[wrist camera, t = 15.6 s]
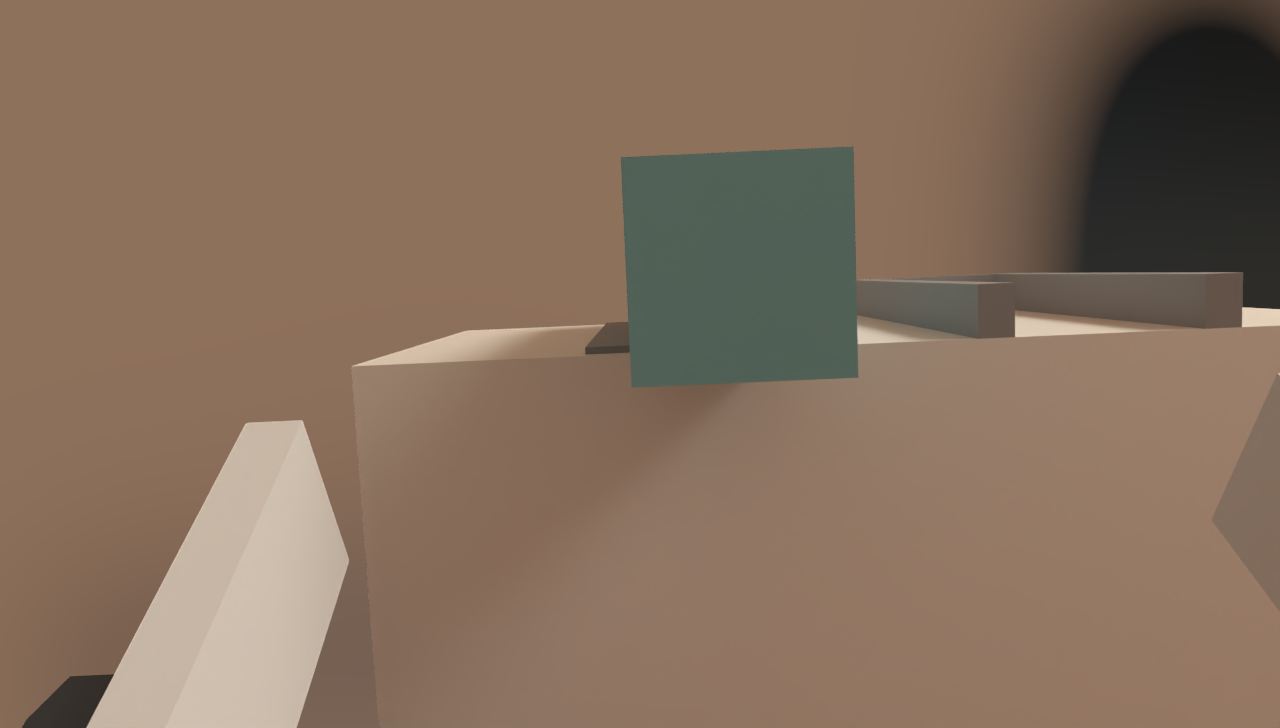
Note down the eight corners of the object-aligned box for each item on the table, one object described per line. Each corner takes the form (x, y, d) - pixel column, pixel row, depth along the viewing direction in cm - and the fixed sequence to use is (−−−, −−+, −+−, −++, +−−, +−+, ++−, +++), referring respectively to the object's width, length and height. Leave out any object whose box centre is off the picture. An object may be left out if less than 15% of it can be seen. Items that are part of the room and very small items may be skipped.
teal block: (858, 377, 16) (853, 146, 16) (631, 387, 16) (620, 157, 16) (731, 315, 40) (728, 223, 39) (640, 319, 40) (636, 228, 40)
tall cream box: (1398, 1355, 28) (1442, 263, 25) (429, 1383, 28) (347, 312, 25) (1126, 963, 44) (1131, 267, 41) (507, 984, 44) (463, 297, 41)
